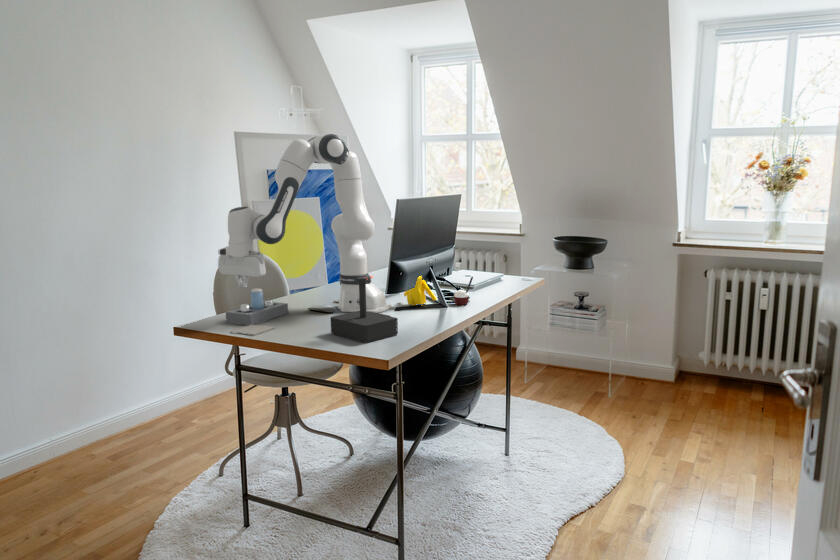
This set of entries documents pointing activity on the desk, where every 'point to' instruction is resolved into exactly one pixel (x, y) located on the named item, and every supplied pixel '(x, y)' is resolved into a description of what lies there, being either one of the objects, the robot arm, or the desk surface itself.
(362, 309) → the black post stand
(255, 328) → the mat
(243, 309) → the plunger
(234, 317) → the housing
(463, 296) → the cocoa
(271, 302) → the plunger
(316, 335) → the desk surface
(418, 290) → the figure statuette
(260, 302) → the cartridge
